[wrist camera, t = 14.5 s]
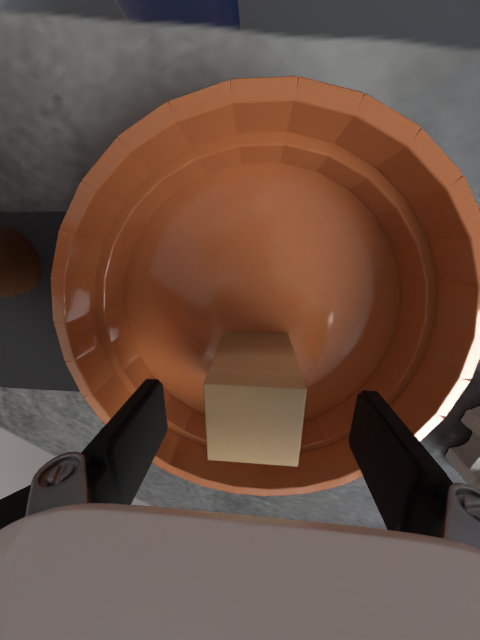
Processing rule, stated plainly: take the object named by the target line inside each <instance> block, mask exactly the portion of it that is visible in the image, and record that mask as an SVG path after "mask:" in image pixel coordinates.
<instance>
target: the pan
mask: <svg viewBox="0 0 480 640" xmlns="http://www.w3.org/2000/svg"><path fill="white" fill-rule="evenodd" d="M461 175H462V172H461V171H460V170H459V169H458V167H457V166H456V165H455V164H454V163H453V162H452V161H451V160H450V158H449V157H448V156H447V155H446V154H445V153H444V152H443V151H442V150H441V148H440V147H439V146H438V145H437V144H436V143H435V142H434V141H433V139H432V138H431V137H430V136H429V135H428V134H427V133H426V132H425V130H424V129H423V128H420V126H419V125H418V124H416V123H414V122H413V121H411V120H409V119H408V118H406V117H404V116H403V115H401V114H399V113H398V112H396V111H394V110H393V109H391V108H389V107H388V106H386V105H384V104H383V103H381V102H380V101H378V100H376V99H375V98H373V97H371V96H370V95H368V94H366V93H364V94H363V93H362V92H360V91H356V90H352V89H348V88H344V87H340V86H336V85H332V84H328V83H323V82H319V81H315V80H311V79H307V78H303V77H298V78H297V76H282V77H262V78H242V79H231V80H230V81H229V80H227V81H224V82H221V83H218V84H215V85H212V86H209V87H207V88H204V89H201V90H198V91H195V92H192V93H189V94H186V95H184V96H181V97H178V98H175V99H172V100H170V101H169V103H168V102H165V103H164V104H162V105H161V106H159V107H158V108H156V109H155V110H154V111H152V112H151V113H149V114H148V115H147V116H145V117H144V118H142V119H141V120H139V121H138V122H137V123H135V124H134V125H132V126H131V127H130V128H128V129H127V130H125V131H124V132H122V133H121V134H120V135H118V138H116V139H115V140H114V141H113V142H112V144H111V145H110V146H109V147H108V148H107V150H106V151H105V152H104V153H103V155H102V156H101V157H100V158H99V159H98V161H97V162H96V163H95V164H94V166H93V167H92V168H91V169H90V170H89V172H88V173H87V174H86V175H85V177H84V178H83V179H82V182H80V184H79V186H78V188H77V190H76V193H75V195H74V197H73V199H72V201H71V204H70V206H69V208H68V210H67V213H66V215H65V217H64V219H63V221H62V224H61V226H60V229H59V232H58V237H57V243H56V249H55V254H54V260H53V265H52V271H51V295H52V312H53V321H54V326H55V329H56V333H57V336H58V340H59V344H60V347H61V351H62V354H63V358H64V361H65V363H66V365H67V367H68V369H69V371H70V373H71V375H72V377H73V379H74V381H75V383H76V385H77V387H78V388H79V390H80V392H81V394H82V396H84V399H85V400H86V402H87V403H88V404H89V405H90V407H91V408H92V409H93V410H94V412H95V413H96V414H97V416H98V417H99V418H100V419H101V421H102V422H103V423H104V424H105V425H106V424H107V423H108V422H109V421H110V419H111V418H112V417H113V416H114V415H115V414H116V413H117V411H118V410H119V409H120V408H121V407H122V406H123V405H124V403H125V402H126V401H127V400H128V399H129V398H130V397H131V395H132V394H133V393H134V392H135V391H136V390H137V389H138V387H139V386H140V385H141V384H142V383H143V382H144V381H145V380H146V379H158V380H159V381H160V382H161V383H162V384H163V390H164V399H165V407H166V416H167V424H168V429H167V433H166V435H165V437H164V439H163V441H162V443H161V445H160V447H159V449H158V451H157V453H156V455H155V457H154V459H153V461H152V463H153V464H155V465H157V466H158V467H160V468H161V469H163V470H165V471H166V472H169V473H171V474H174V475H176V476H178V477H181V478H183V479H186V480H188V481H190V482H193V483H195V484H198V485H201V486H205V487H209V488H213V489H217V490H221V491H225V492H229V493H235V494H247V495H258V496H281V495H295V494H305V493H306V494H308V493H312V492H316V491H321V490H325V489H329V488H334V487H338V486H342V485H343V484H344V485H345V484H347V483H349V482H352V481H354V480H357V479H359V478H361V477H363V475H362V473H361V470H360V468H359V466H358V464H357V462H356V460H355V457H354V455H353V453H352V451H351V449H350V446H349V434H350V429H351V424H352V419H353V414H354V409H355V404H356V399H357V395H358V393H361V392H362V391H363V390H370V391H377V392H378V393H379V394H380V395H381V396H382V397H383V399H384V400H385V401H386V402H387V403H388V405H389V406H390V407H391V408H392V409H393V411H394V412H395V413H396V414H397V415H398V417H399V418H400V419H401V420H402V421H403V422H404V424H405V425H406V426H407V427H408V428H409V430H410V431H411V432H412V433H413V434H414V436H415V437H416V438H417V439H418V440H419V442H421V441H422V440H423V439H424V438H425V437H426V436H427V435H428V434H429V433H430V432H431V431H432V430H433V429H434V428H435V427H436V426H438V425H439V424H440V423H441V422H442V421H443V420H444V419H445V417H446V416H447V415H448V414H449V412H450V411H451V409H452V408H453V406H454V405H455V403H456V402H457V401H458V399H459V398H460V396H461V395H462V393H463V392H464V390H465V389H466V388H467V386H468V385H469V383H470V382H471V379H472V378H473V375H474V373H475V370H476V368H477V365H478V363H479V360H480V209H479V207H478V205H477V202H476V200H475V198H474V196H473V194H472V192H471V189H470V187H469V185H468V183H467V181H466V178H465V176H463V175H462V176H461ZM224 332H242V333H272V334H288V335H289V337H290V340H291V343H292V346H293V349H294V352H295V355H296V358H297V361H298V364H299V367H300V370H301V373H302V375H303V378H304V381H305V384H306V387H307V396H306V404H305V413H304V421H303V429H302V438H301V446H300V454H299V462H298V466H297V467H295V466H282V465H269V464H255V463H242V462H229V461H216V460H208V459H207V445H206V427H205V410H204V392H203V383H204V381H205V378H206V375H207V373H208V370H209V368H210V365H211V363H212V360H213V358H214V355H215V353H216V350H217V348H218V345H219V343H220V340H221V338H222V335H223V333H224Z"/></svg>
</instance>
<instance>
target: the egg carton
mask: <svg viewBox="0 0 480 640" xmlns="http://www.w3.org/2000/svg"><path fill="white" fill-rule="evenodd" d="M461 422H462V423H463V424H464V425H465V426H466V427H468V428H469V429H471V430H472V435H471V438H470V439H469V441H468V442H467V443H466V444H464V445H461V446H459V447H452V448H449V449H448V452H447V454H446V456H445V458H446V459H447V460H448V462H449V463H450V464H451V465H452V466H453V467H454V468H455V470H456V471H457V472H458V473H459V474H460V475H461V476H462V478H463V479H464V480H465V481H466V482H467V483H468V484H469V485H471V486H474V487H476V488H478V489H480V406H479V407H476V408H473V409H469V410H467V411H466V412H465V415H464V416H463V417H462V419H461Z"/></svg>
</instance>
